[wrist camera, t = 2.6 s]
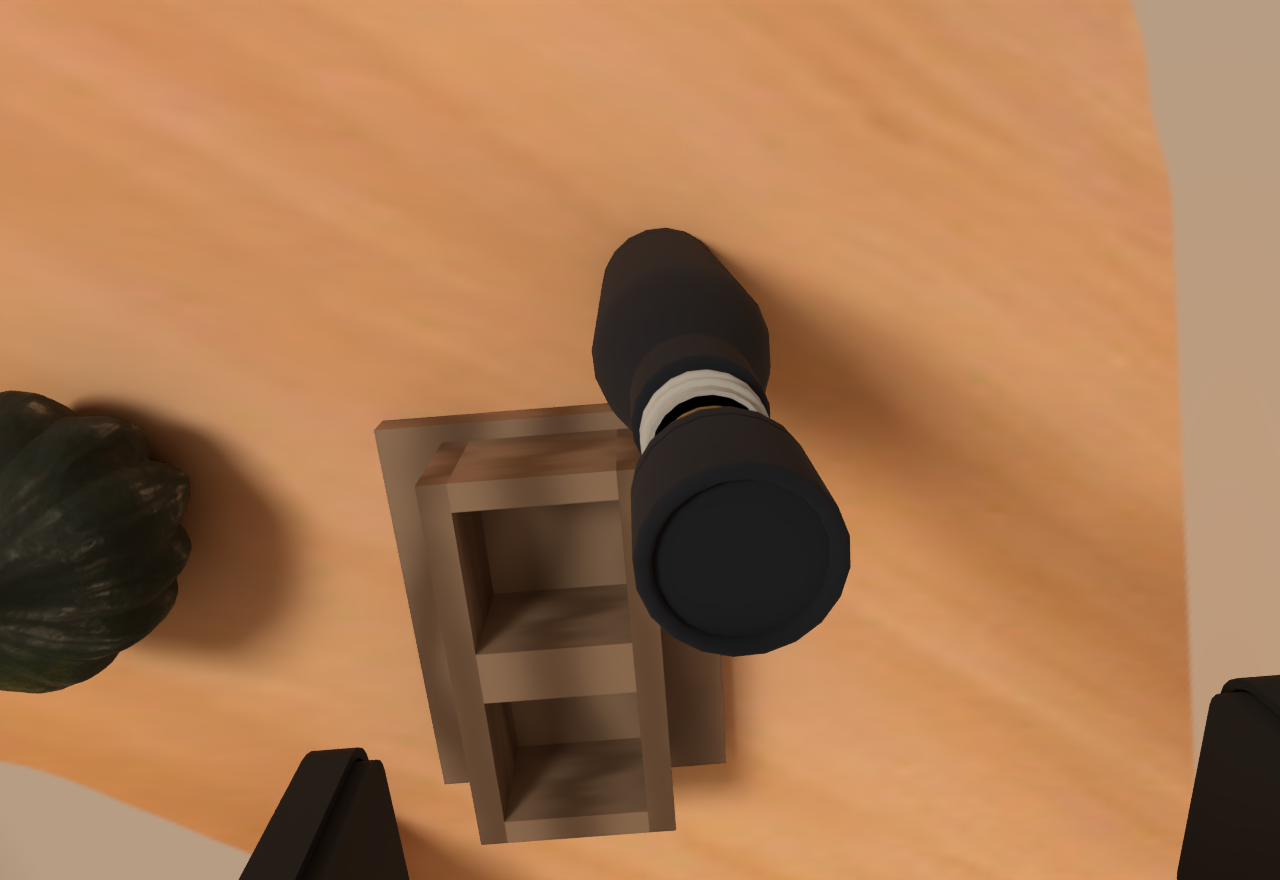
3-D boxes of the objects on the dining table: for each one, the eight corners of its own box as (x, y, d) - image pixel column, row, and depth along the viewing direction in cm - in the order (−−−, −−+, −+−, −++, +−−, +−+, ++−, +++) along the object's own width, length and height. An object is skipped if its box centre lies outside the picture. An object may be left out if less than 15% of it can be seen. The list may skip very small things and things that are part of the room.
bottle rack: (705, 395, 44) (721, 442, 37) (722, 745, 52) (738, 839, 45) (382, 420, 44) (336, 472, 37) (449, 766, 52) (422, 862, 45)
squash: (-158, 634, 42) (-152, 818, 32) (-193, 359, 38) (-200, 473, 28) (150, 580, 52) (227, 708, 42) (150, 357, 47) (236, 441, 38)
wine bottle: (727, 230, 41) (957, 396, 13) (718, 351, 43) (896, 722, 15) (603, 224, 41) (560, 381, 13) (600, 347, 43) (556, 714, 15)
